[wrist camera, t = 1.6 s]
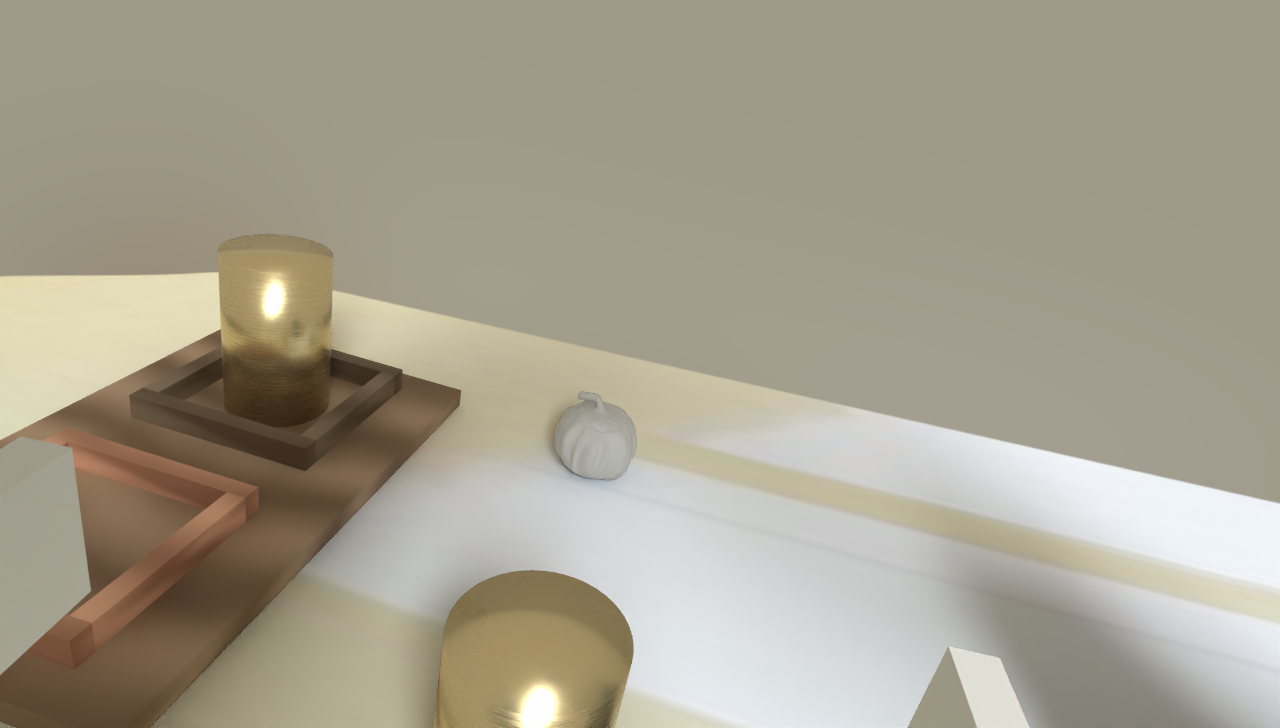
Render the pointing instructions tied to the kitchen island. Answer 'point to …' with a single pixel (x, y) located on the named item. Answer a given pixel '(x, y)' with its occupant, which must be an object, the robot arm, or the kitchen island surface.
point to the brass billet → (533, 655)
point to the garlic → (595, 438)
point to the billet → (275, 328)
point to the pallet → (199, 523)
